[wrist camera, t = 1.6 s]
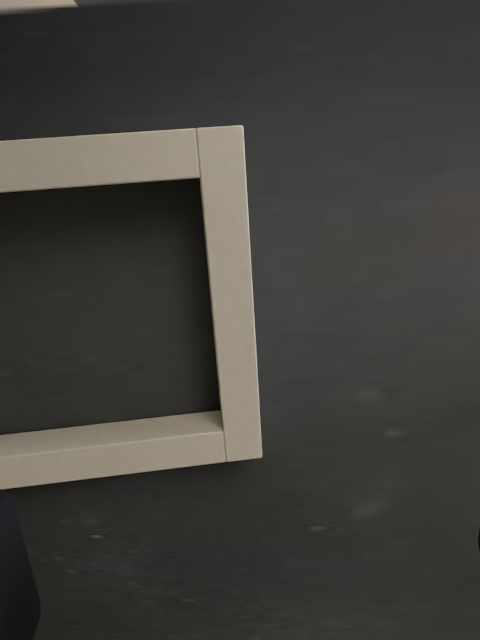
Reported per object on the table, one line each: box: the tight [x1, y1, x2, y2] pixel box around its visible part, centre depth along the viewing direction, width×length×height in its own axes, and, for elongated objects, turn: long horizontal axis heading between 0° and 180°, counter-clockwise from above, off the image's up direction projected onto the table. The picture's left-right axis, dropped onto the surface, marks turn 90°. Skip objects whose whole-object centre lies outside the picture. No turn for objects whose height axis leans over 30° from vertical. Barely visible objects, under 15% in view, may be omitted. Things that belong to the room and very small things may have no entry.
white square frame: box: [0, 125, 262, 489], centre depth 20 cm, size 15×15×2 cm
